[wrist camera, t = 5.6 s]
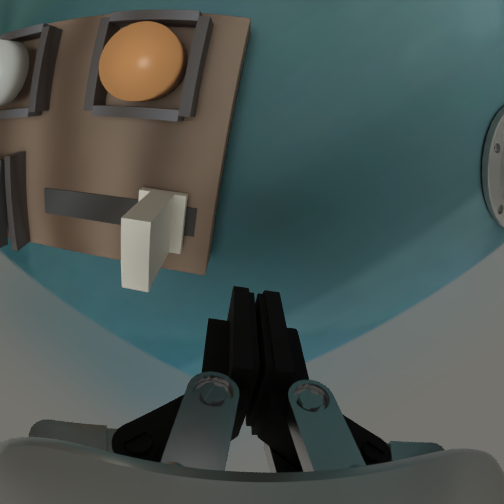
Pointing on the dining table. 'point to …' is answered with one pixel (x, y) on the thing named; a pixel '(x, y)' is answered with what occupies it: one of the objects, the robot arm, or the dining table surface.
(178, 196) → the cream stepped block
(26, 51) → the grey button
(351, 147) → the dining table surface
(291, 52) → the dining table surface
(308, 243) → the dining table surface
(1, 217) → the rocker
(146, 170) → the panel
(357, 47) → the dining table surface
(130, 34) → the orange button
